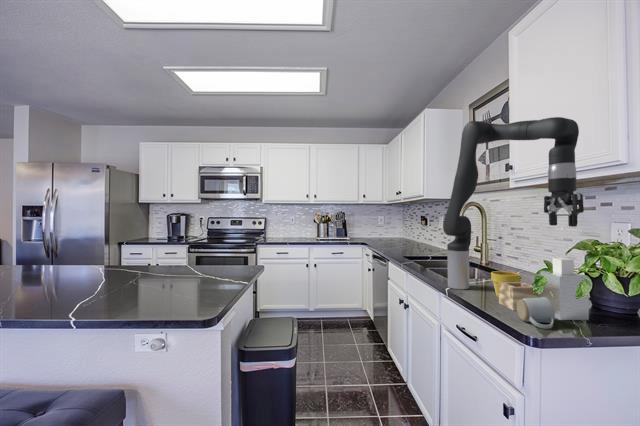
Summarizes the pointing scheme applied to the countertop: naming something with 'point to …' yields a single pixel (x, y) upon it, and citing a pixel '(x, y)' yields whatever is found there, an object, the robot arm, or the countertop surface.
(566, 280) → the tall grey box
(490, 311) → the countertop surface
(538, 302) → the ceramic mug
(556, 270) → the plug
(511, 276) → the plant pot
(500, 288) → the wooden box
